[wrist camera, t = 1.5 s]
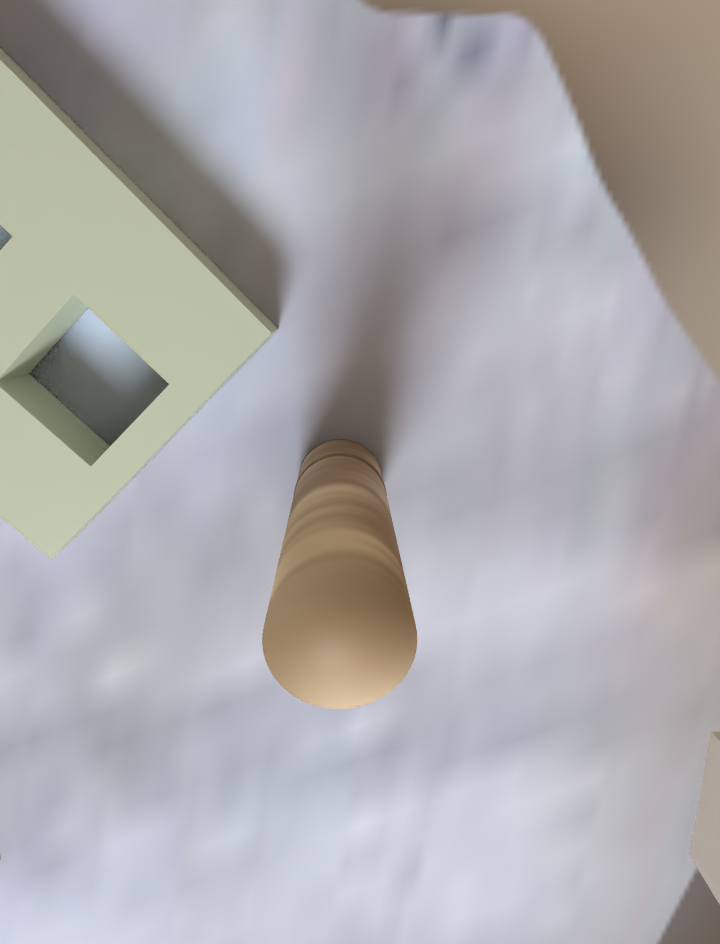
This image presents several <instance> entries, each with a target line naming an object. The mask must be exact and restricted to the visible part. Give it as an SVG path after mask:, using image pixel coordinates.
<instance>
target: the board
mask: <svg viewBox="0 0 720 944" xmlns="http://www.w3.org/2000/svg"><path fill="white" fill-rule="evenodd" d="M0 225H1V226H2V227H3V228H4V229H5V230H6V231H7V232H8V233H9V234H10V235H11V236H12V237H11V239H10V240H9V241H8V242H7V243H6V244H5V246H4V247H3V248H2V249H1V250H0V517H1V518H2V519H3V520H5V521H6V522H7V523H8V524H9V525H11V526H12V527H13V528H14V529H15V530H17V531H18V532H19V533H20V534H21V535H23V536H24V537H25V538H26V539H28V540H29V541H30V542H31V543H32V544H34V545H35V546H36V547H37V548H38V549H40V550H41V551H42V552H43V553H44V554H46V555H47V556H48V557H49V558H51V559H52V558H53V557H54V556H55V555H56V554H58V553H59V552H60V551H61V550H62V549H63V548H64V547H65V546H66V545H67V544H68V543H69V542H71V541H72V540H73V539H74V538H75V537H76V536H77V535H78V534H79V533H80V532H81V531H82V530H83V529H84V528H85V527H86V526H87V525H88V524H89V523H90V522H91V521H92V520H93V519H94V518H95V517H96V516H97V515H98V514H99V513H100V512H101V510H102V509H103V508H104V507H105V506H106V505H107V504H108V503H109V502H110V501H111V500H112V499H113V498H114V497H115V496H116V495H117V494H118V493H119V492H120V491H121V490H122V489H123V488H124V487H125V486H126V485H127V484H128V483H129V482H130V481H131V480H132V479H133V478H134V477H135V476H136V475H137V474H138V473H139V471H140V470H141V469H142V468H143V467H144V466H145V465H146V464H147V463H148V462H149V461H150V460H151V459H152V458H153V457H154V456H155V455H156V454H157V453H158V452H159V451H160V450H161V449H162V448H163V447H164V446H165V445H166V444H167V443H168V442H169V441H170V440H171V439H172V438H173V437H174V436H175V435H176V434H177V432H178V431H179V430H180V429H181V428H182V427H183V426H184V425H185V424H186V423H187V422H188V421H189V420H190V419H191V418H192V417H193V416H194V415H195V414H196V413H197V412H198V411H199V410H200V409H201V408H202V407H203V406H204V405H205V404H206V403H207V402H208V401H209V400H210V399H211V398H212V397H213V396H214V394H215V393H216V392H217V391H218V390H219V389H220V388H221V387H222V386H223V385H224V384H225V383H226V382H227V381H228V380H229V379H230V378H231V377H232V376H233V375H234V374H235V373H236V372H237V371H238V370H239V369H240V368H241V367H242V366H243V365H244V364H245V363H246V362H247V361H248V360H249V359H250V358H251V357H252V355H253V354H254V353H255V352H256V351H257V350H258V349H259V348H260V347H261V346H262V345H263V344H264V343H265V342H266V341H267V340H268V339H269V338H270V337H271V336H272V335H273V334H274V333H275V332H276V331H277V330H278V328H277V327H276V326H275V325H274V324H273V323H272V322H271V321H270V320H269V319H268V318H267V317H266V316H265V315H264V314H263V313H262V312H261V311H260V310H259V309H258V308H257V307H256V306H255V305H254V304H253V303H252V302H251V301H250V300H249V299H248V298H247V297H246V296H245V295H244V294H243V293H242V292H241V291H240V290H239V289H238V288H237V287H236V286H235V285H234V284H233V283H232V282H231V281H230V280H229V279H228V278H227V277H226V275H225V274H224V273H223V272H222V271H221V270H220V269H219V268H218V267H217V266H216V265H215V264H214V263H213V262H212V261H211V260H210V259H209V258H208V257H207V256H206V255H205V254H204V253H203V252H202V251H201V250H200V249H199V248H198V247H197V246H196V245H195V244H194V243H193V242H192V241H191V240H190V239H189V238H188V237H187V236H186V235H185V234H184V233H183V232H182V231H181V230H180V229H179V228H178V227H177V226H176V225H175V224H174V223H173V222H172V221H171V220H170V219H169V218H168V217H167V216H166V215H165V214H164V213H163V212H162V211H161V210H160V209H159V208H158V207H157V206H156V205H155V204H154V203H153V202H152V201H151V200H150V199H149V198H148V197H147V196H146V195H145V194H144V193H143V192H142V191H141V190H140V189H139V187H138V186H137V185H136V184H135V183H134V182H133V181H132V180H131V179H130V178H129V177H128V176H127V175H126V174H125V173H124V172H123V171H122V170H121V169H120V168H119V167H118V166H117V165H116V164H115V163H114V162H113V161H112V160H111V159H110V158H109V157H108V156H107V155H106V154H105V153H104V152H103V151H102V150H101V149H100V148H99V147H98V146H97V145H96V144H95V143H94V142H93V141H92V140H91V139H90V138H89V137H88V136H87V135H86V134H85V133H84V132H83V131H82V130H81V129H80V128H79V127H78V126H77V125H76V124H75V123H74V122H73V121H72V120H71V119H70V118H69V117H68V116H67V115H66V114H65V113H64V112H63V111H62V110H61V109H60V108H59V107H58V106H57V105H56V104H55V103H54V102H53V101H52V99H51V98H50V97H49V96H48V95H47V94H46V93H45V92H44V91H43V90H42V89H41V88H40V87H39V86H38V85H37V84H36V83H35V82H34V81H33V80H32V79H31V78H30V77H29V76H28V75H27V74H26V73H25V72H24V71H23V70H22V69H21V68H20V67H19V66H18V65H17V64H16V63H15V62H14V61H13V60H12V59H11V58H10V57H9V56H8V55H7V54H6V53H5V52H4V51H3V50H2V49H1V48H0ZM87 308H89V309H90V310H91V311H92V312H93V313H94V314H95V315H96V316H97V317H98V318H99V319H101V320H102V321H103V322H104V323H105V324H106V325H107V326H108V327H109V328H110V329H111V330H112V331H113V332H114V333H115V334H116V335H118V336H119V337H120V338H121V339H122V340H123V341H124V342H125V343H126V344H127V345H128V346H129V347H130V348H131V349H132V350H133V351H135V352H136V353H137V354H138V355H139V356H140V357H141V358H142V359H143V360H144V361H145V362H146V363H147V364H148V365H149V366H150V367H152V368H153V369H154V370H155V371H156V372H157V373H158V374H159V375H160V376H161V377H162V378H163V379H164V380H165V381H166V382H167V383H169V385H168V386H167V387H166V388H165V389H164V390H163V391H162V392H161V394H160V395H159V396H158V397H157V398H156V399H155V400H154V401H153V402H152V403H151V404H150V405H149V406H148V407H147V408H146V409H145V410H144V411H143V412H142V413H141V415H140V416H139V417H138V418H137V419H136V420H135V421H134V422H133V423H132V424H131V425H130V426H129V427H128V428H127V429H126V430H125V431H124V432H123V433H122V434H121V435H120V437H119V438H118V439H117V440H116V441H115V442H114V443H113V444H112V445H111V446H109V445H108V444H107V443H106V442H105V441H104V440H103V439H101V438H100V437H99V436H98V435H97V434H96V433H95V432H94V431H92V430H91V429H90V428H89V427H88V426H87V425H86V424H85V423H84V422H82V421H81V420H80V419H79V418H78V417H77V416H76V415H75V414H73V413H72V412H71V411H70V410H69V409H68V408H67V407H66V406H64V405H63V404H62V403H61V402H60V401H59V400H58V399H57V398H56V397H54V396H53V395H52V394H51V393H50V392H49V391H48V390H47V389H45V388H44V387H43V386H42V385H41V384H40V383H39V382H38V381H36V380H35V379H34V378H33V377H32V376H31V375H30V374H29V373H30V372H31V371H32V370H33V368H34V367H35V366H36V365H37V364H38V363H39V362H40V361H41V360H42V358H43V357H44V356H45V355H46V354H47V353H48V352H49V351H50V350H51V348H52V347H53V346H54V345H55V344H56V343H57V342H58V341H59V340H60V338H61V337H62V336H63V335H64V334H65V333H66V332H67V331H68V330H69V328H70V327H71V326H72V325H73V324H74V323H75V322H76V321H77V320H78V318H79V317H80V316H81V315H82V314H83V313H84V312H85V311H86V310H87Z"/></svg>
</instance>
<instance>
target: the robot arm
mask: <svg viewBox="0 0 720 944" xmlns="http://www.w3.org/2000/svg"><path fill="white" fill-rule="evenodd" d="M689 855H690V857H691V858H692V860H693V862H694V863H695V865H696V867H697V868H698V870H699V871H700V873H701V875H702V876H703V878H704V880H705V881H706V883H707V885H708V886H709V888H710V889H711V891H712V893H713V894H714V896H715V897H716V899H717V901H718V902H719V904H720V732H711V736H710V742H709V747H708V753H707V758H706V764H705V769H704V775H703V781H702V786H701V792H700V797H699V803H698V808H697V814H696V819H695V825H694V830H693V836H692V841H691V847H690V852H689ZM0 859H1V856H0Z"/></svg>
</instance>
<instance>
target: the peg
mask: <svg viewBox="0 0 720 944" xmlns="http://www.w3.org/2000/svg"><path fill="white" fill-rule="evenodd" d="M262 644H263V652H264V656H265V660H266V662H267V665H268V667H269V669H270V671H271V673H272V674H273V676H274V677H275V679H276V680H277V681H278V682H279V684H280V685H281V686H282V687H283V688H284V689H285V690H287V691H288V692H289V693H291V694H292V695H293V696H295V697H297V698H299V699H300V700H302V701H304V702H307V703H309V704H312V705H315V706H319V707H324V708H330V709H347V708H354V707H360V706H363V705H366V704H369V703H372V702H374V701H376V700H378V699H380V698H382V697H383V696H385V695H386V694H388V693H389V692H390V691H392V690H393V689H394V688H395V687H396V686H397V685H398V684H399V683H400V682H401V681H402V680H403V678H404V677H405V676H406V674H407V672H408V671H409V669H410V667H411V665H412V662H413V660H414V657H415V653H416V647H417V631H416V625H415V620H414V616H413V612H412V607H411V603H410V598H409V594H408V589H407V585H406V580H405V576H404V571H403V567H402V563H401V558H400V554H399V549H398V545H397V540H396V536H395V531H394V527H393V522H392V518H391V513H390V509H389V505H388V500H387V494H386V489H385V485H384V482H383V478H382V473H381V469H380V466H379V464H378V462H377V460H376V458H375V457H374V455H373V454H372V453H371V452H370V451H369V450H368V449H367V448H365V447H364V446H362V445H360V444H358V443H356V442H353V441H349V440H341V439H340V440H331V441H327V442H324V443H322V444H320V445H318V446H317V447H315V448H314V449H313V450H312V451H311V452H310V453H309V454H308V455H307V456H306V458H305V459H304V461H303V463H302V465H301V468H300V471H299V476H298V480H297V484H296V487H295V491H294V497H293V502H292V506H291V511H290V515H289V519H288V524H287V528H286V532H285V537H284V541H283V545H282V550H281V554H280V558H279V563H278V567H277V572H276V576H275V580H274V585H273V589H272V593H271V598H270V602H269V606H268V611H267V615H266V619H265V624H264V629H263V638H262Z"/></svg>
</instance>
